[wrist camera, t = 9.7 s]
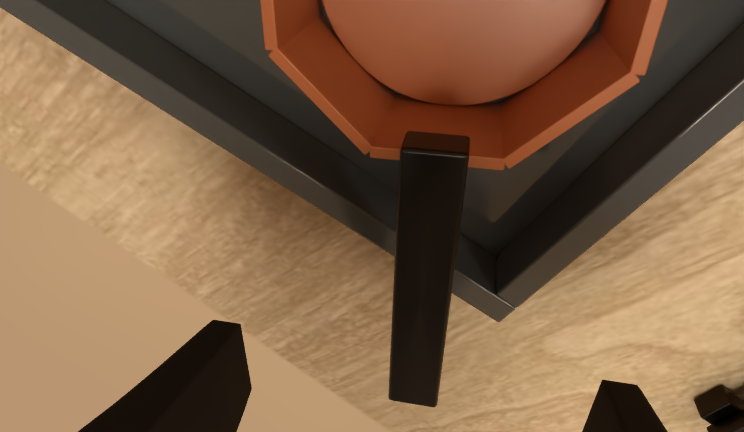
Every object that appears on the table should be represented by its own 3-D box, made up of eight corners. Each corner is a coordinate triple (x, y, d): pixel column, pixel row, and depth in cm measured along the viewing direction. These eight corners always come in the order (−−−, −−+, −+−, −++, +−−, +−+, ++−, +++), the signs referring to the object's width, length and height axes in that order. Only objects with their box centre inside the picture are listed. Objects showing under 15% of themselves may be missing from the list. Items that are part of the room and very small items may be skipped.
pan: (536, 315, 18) (549, 428, 14) (324, 285, 19) (285, 383, 15) (684, -258, 10) (805, -347, 6) (298, -248, 11) (199, -317, 7)
